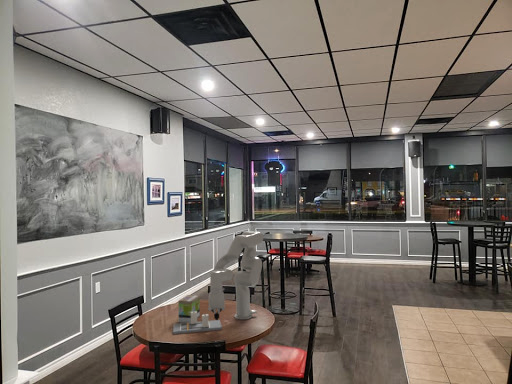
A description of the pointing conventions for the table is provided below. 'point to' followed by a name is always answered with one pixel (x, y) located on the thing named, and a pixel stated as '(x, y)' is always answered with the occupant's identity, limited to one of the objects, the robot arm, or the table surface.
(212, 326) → the console
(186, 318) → the tea box
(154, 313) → the table surface
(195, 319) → the tab
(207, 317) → the block
